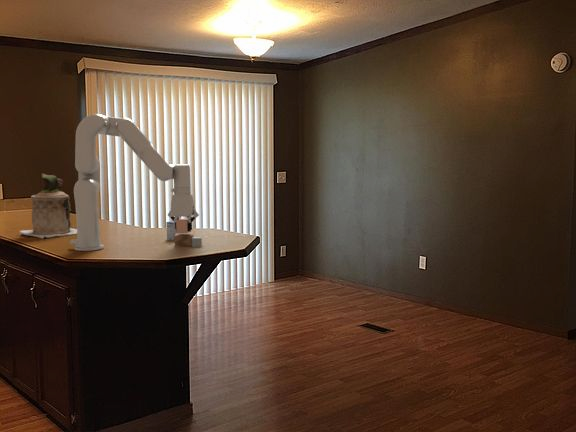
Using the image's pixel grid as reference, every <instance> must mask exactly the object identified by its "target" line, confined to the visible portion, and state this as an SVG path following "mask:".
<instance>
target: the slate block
mask: <svg viewBox="0 0 576 432" xmlns="http://www.w3.org/2000/svg"><path fill="white" fill-rule="evenodd" d="M202 238H203V237H202V236H193V238H192V246H191V247H192V248H199V247H200V248H201V247H202V245H203V240H202Z"/></svg>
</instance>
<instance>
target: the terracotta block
mask: <svg viewBox="0 0 576 432" xmlns="http://www.w3.org/2000/svg"><path fill="white" fill-rule="evenodd" d="M176 230H177V233H192V230H191V231H189V232H188V219H187V218H179V219H177V220H176Z"/></svg>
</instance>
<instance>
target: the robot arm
mask: <svg viewBox="0 0 576 432" xmlns="http://www.w3.org/2000/svg"><path fill="white" fill-rule="evenodd" d="M77 125H78V126H77V127H76V130H75V147H74V149H75V152H74V153H75V161H74V162H75V163H74V167H75V169H76V171H77V172H78V175H77V176H78V179H77V181H76V182H75V184H74V187H73V194H74V195H73V196H74V204H75V219H76V229H77V234H76V236H77V238H76V239H70V242H69V244H71V245H75V246H74V247H73V248H74V251H78V252H93V251H97V250H98V251H100V250H103V249H104V248H105V245H104V244H101V231H100V229H101V228H100V212H99V210H100V209H99V200H98V194H99V193H100V190H101V163H100V159H99V157H97V141H96V140H97V136H98V135H103V136H111V137H119V138H121V139H122V140H123V142H125V144H126V145H128V147H129V148H130V149H131V151H132V152H133V153H134V154H135V155H136V156H137V157H138V158H139V159H140V161H142V162H143V163H144V165H145V166H146V167H147V168H148V169H149V170H150V172H151V173H153V175H154V176H155V177H156V179H158V180H159V181H161V182H168V181H170V180H173V188H171V189H170V191H171V193H173V194H171V201H170V211H169V212H168V213H167V216H168V217H169V218H170V219H171V221H174V223H175V229H176V220H177V219H180V217H181V218H182V217H183V218H185V217H186V219H188V232H189V231H191V232H192V230H193V222H194V220H196V218H198V217H199V216H200V214H199V213H198V212H197V210H196V209H195V202H194V201H195V200H194V196H193V194H192V190H191V189H192V187H191V186H192V185H191V166H190V165H189V164H187V163H185V164H184V163H179V164H178V163H177V164H168V163H167V161H166V160H165V159H164V158H163V157H162V156H161V155H160V153H159V152H158V150H157V149H156V148H155V147H154V144H153V143H152V142H151V141H150V140H149V138H148V137H147V135H145V134H144V133H143V131H141V129H140V128H139V127H138V126H137V125H136V123H135V122H134V121H133V120H132V119H131V118H128V117H122V118H121V117H115V116H106V115H103V114H100V113H92V114H90V115H87V116H85V117H84V118H83V119H82V120H80V122H79V123H78V124H77ZM176 231H177V230H176ZM189 233H190V232H189Z"/></svg>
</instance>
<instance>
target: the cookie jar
mask: <svg viewBox="0 0 576 432" xmlns="http://www.w3.org/2000/svg"><path fill="white" fill-rule="evenodd" d="M41 178H42V184H43V189H42V190H41V191H40V192H38V193H37V194H33V195H31V196H30V198H31V199H30V200H32V201H31V202H32V207H31V225H32V228H33V229H27V230H24V229H23V230H19V233H20V236H22V235H24V236H30V237H35V238H40V239H44V238H55V237H64V236H71V235H73V236H74V235H77V228H71V227H72V222H71V221H70V218H71V211H72V209H71V202H70V196H69V194H66V193H65V192H64V191H62V188H61V187H62V186H63V183H64V181H63V179H61V178H58V177H57V176H56V175H53V174H52V175H51V174H50V175H49V174H45V173H41Z"/></svg>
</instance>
